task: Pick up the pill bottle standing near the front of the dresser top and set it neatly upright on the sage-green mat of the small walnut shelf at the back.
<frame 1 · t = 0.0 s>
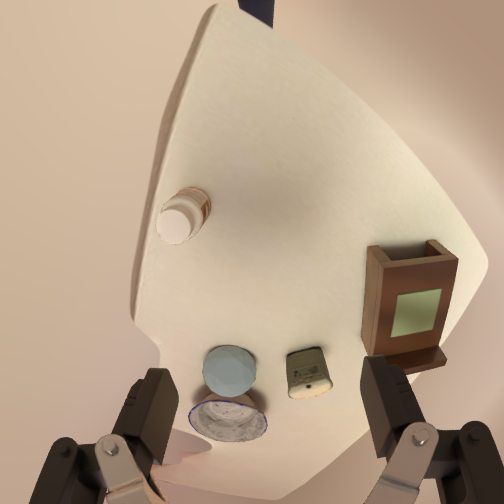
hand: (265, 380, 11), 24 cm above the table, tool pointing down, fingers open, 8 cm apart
bowl: (230, 402, 47), on the table
gemstone: (231, 357, 43), on the table
shelf: (398, 291, 37), on the table
pill bottle: (192, 205, 34), on the table
beige rounded block: (306, 352, 42), on the table
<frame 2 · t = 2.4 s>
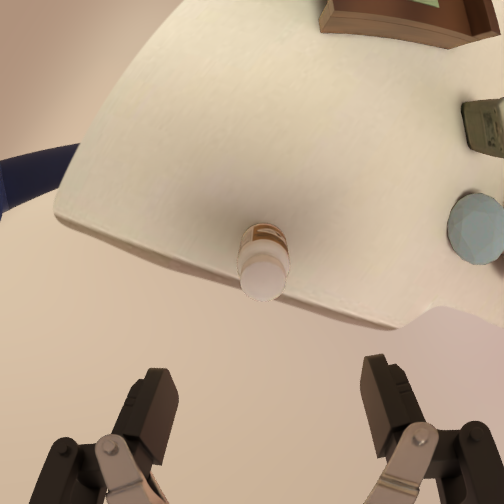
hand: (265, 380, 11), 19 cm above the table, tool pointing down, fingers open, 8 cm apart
gemstone: (464, 220, 27), on the table
pill bottle: (263, 242, 29), on the table
beige rounded block: (468, 123, 23), on the table
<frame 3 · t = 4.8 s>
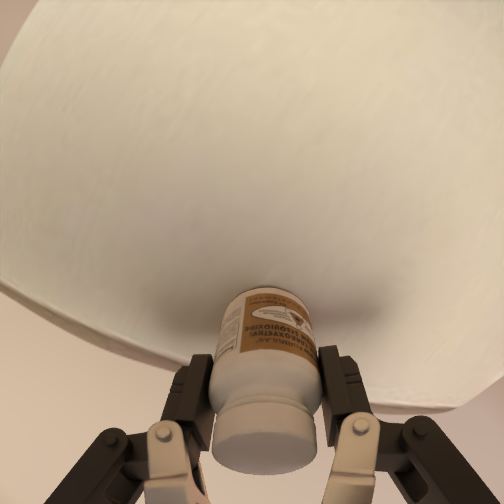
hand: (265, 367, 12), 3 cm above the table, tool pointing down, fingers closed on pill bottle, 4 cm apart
pill bottle: (266, 319, 15), on the table, touching gripper
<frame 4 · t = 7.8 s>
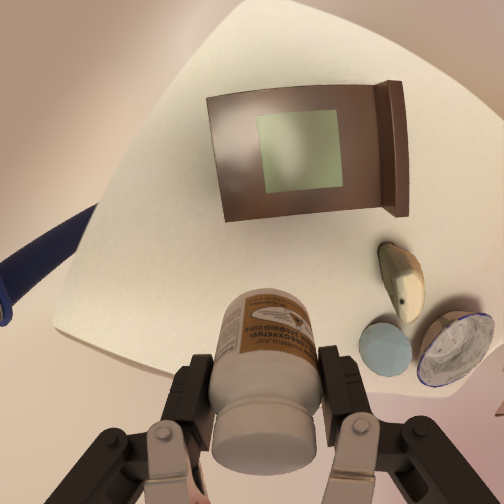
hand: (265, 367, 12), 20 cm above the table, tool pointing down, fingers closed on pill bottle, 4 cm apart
bowl: (444, 333, 35), on the table
gemstone: (378, 336, 36), on the table
shelf: (298, 145, 27), on the table
pill bottle: (266, 320, 15), point 16 cm above the table, touching gripper
beige rounded block: (386, 260, 31), on the table
when the fingers open (10 cm above the table, at t = 11.1 s): pill bottle stays where it is, resting on shelf.
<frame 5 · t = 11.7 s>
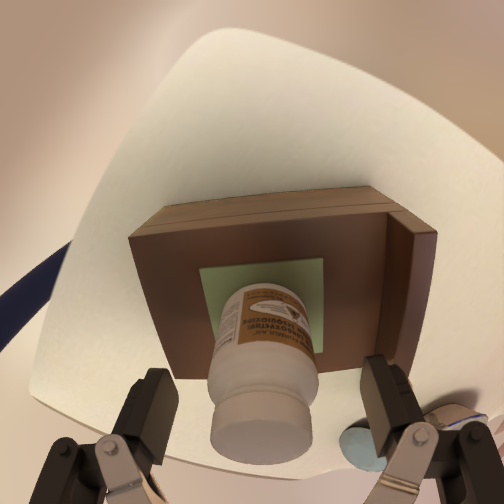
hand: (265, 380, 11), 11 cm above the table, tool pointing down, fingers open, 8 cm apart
bowl: (434, 421, 30), on the table
gemstone: (361, 432, 30), on the table
shelf: (273, 263, 21), on the table
pill bottle: (264, 314, 16), point 6 cm above the table, touching shelf
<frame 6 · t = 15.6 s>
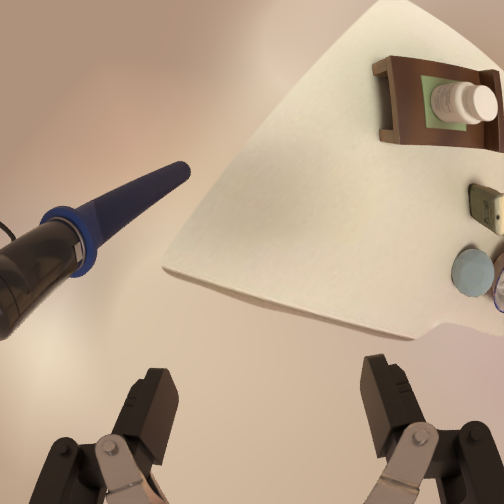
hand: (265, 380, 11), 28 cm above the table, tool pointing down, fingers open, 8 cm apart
gemstone: (464, 265, 39), on the table
shelf: (424, 105, 31), on the table
pill bottle: (444, 103, 25), point 6 cm above the table, touching shelf
beige rounded block: (472, 198, 35), on the table
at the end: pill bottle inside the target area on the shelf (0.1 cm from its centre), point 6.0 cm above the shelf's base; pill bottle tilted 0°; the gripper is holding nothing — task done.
